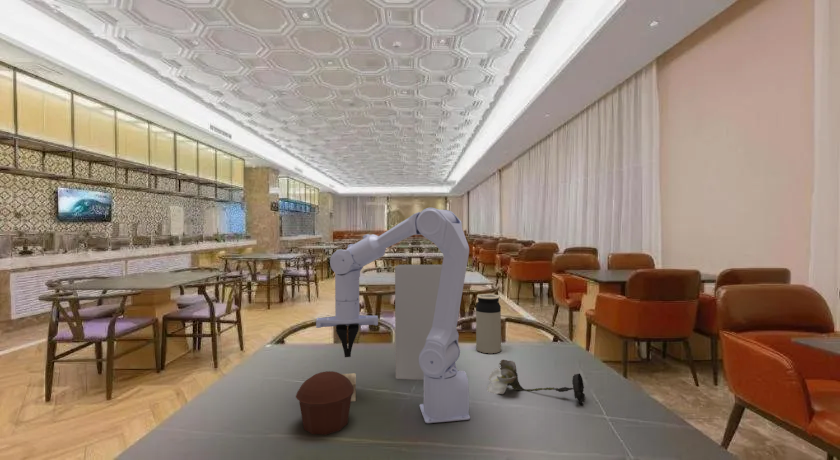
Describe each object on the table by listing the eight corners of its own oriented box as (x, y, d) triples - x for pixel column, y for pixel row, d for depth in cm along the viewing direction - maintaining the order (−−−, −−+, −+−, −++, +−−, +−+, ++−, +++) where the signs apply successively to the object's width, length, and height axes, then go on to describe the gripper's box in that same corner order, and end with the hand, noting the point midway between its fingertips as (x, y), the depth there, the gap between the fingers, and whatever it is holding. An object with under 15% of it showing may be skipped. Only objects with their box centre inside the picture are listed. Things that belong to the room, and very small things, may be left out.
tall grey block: (449, 372, 106) (448, 264, 106) (449, 380, 100) (448, 266, 101) (398, 371, 107) (398, 264, 107) (395, 378, 102) (395, 266, 102)
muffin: (332, 405, 86) (332, 361, 86) (365, 421, 79) (365, 372, 79) (284, 426, 77) (284, 376, 77) (317, 445, 70) (316, 391, 70)
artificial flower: (584, 418, 83) (576, 377, 81) (486, 407, 94) (477, 371, 92) (587, 392, 90) (580, 354, 89) (496, 385, 102) (488, 351, 100)
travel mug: (494, 355, 120) (493, 298, 120) (472, 351, 125) (471, 296, 125) (505, 349, 126) (504, 295, 126) (483, 345, 131) (483, 293, 131)
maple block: (355, 373, 95) (314, 375, 94) (355, 384, 89) (311, 387, 87) (355, 389, 95) (314, 392, 94) (355, 401, 89) (311, 404, 87)
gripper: (376, 295, 97) (377, 349, 97) (318, 297, 95) (318, 352, 95) (378, 300, 90) (378, 358, 90) (315, 302, 88) (315, 361, 88)
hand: (347, 355), depth 92 cm, fingers closed
